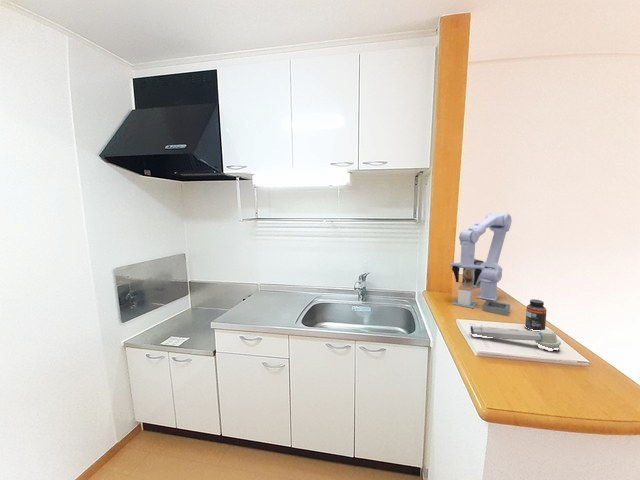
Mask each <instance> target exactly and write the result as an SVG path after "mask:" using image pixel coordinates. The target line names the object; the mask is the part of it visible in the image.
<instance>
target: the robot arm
mask: <svg viewBox="0 0 640 480" xmlns="http://www.w3.org/2000/svg"><path fill="white" fill-rule="evenodd" d="M511 226H512V216H511V214H510V213H488V214H487V215H485V219H484V220H482V222H476V223H474V225H472V226H471V227H469V228H468V229H466V230H465V229H464V230H462V231H461V232H460V233H459V236H458V240H459V244H460V246H461V247H460V248H461V249H460V262H450V263H449V267H452V268H451V270H452V273H453V276H454V279H455V282H456V283H459V280H460V278H459V277H460V275H459V273H460V268H462V269H463V268H467V269H475V271H474V285H476V283H477V280H478V278H479V280H481V282H480V288H479V294H478V295H477V298H478V299H483V300H488V301H494V302H497V299H498V298H499V295H497V287H498V283H499V282H500V281H501V280H502V278H503V268H502V267H501V265H499V260H500V256H501V252H502V249H503V245H504V241H505V239H506V235H507V232H509V231H510V229H511ZM487 229H489V230H490V231H491V232H493V236H492V239H491V243H490V247H489V249H488V250H489V251H488V254H487V257H486V260H485V261H484V263H482V264H481V265H474V259H475V253H476V243H478V241H479V239H480V237H481V236H482V235H483V234H485V233H486V231H487ZM469 267H471V268H469Z"/></svg>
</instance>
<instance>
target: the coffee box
mask: <svg viewBox="0 0 640 480" xmlns="http://www.w3.org/2000/svg"><path fill="white" fill-rule="evenodd" d="M484 262H485V261H484V260H480V259H475V258H474V265H481V264H482V263H484ZM469 268H471V267H469ZM474 271H475V269H467V268H462V283H461V285H463V284H464V285H463V286H469V287H472V289H480V282H481V280H479V278H478V280H477V283H476V285H474Z"/></svg>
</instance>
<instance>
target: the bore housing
mask: <svg viewBox="0 0 640 480" xmlns="http://www.w3.org/2000/svg"><path fill="white" fill-rule="evenodd" d="M482 311H483V312H487V313H492V314H495V315H496V314H497V315H501V316H506V317H509V314H510V312H511V304H509V303H503V302H498V301H492V300H487V299H485V302H484V303H483V305H482Z"/></svg>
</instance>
